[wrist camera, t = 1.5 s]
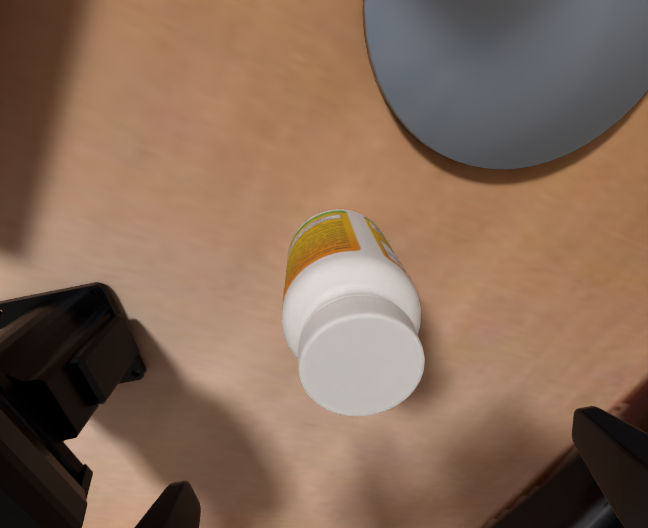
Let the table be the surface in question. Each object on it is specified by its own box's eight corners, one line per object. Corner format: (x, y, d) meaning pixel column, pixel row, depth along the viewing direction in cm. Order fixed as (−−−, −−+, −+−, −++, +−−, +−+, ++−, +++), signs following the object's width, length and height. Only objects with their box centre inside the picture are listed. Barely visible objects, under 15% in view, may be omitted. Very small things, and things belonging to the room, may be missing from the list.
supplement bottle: (277, 284, 21) (255, 416, 12) (304, 194, 19) (303, 271, 10) (365, 307, 22) (407, 447, 13) (400, 223, 20) (479, 319, 11)
